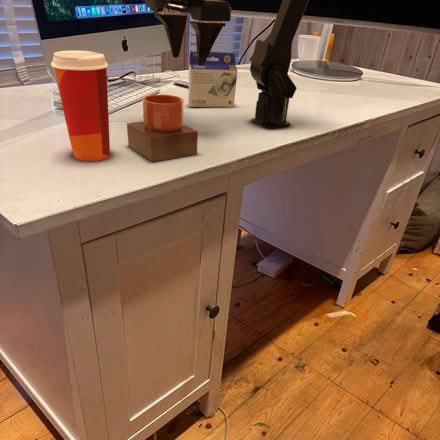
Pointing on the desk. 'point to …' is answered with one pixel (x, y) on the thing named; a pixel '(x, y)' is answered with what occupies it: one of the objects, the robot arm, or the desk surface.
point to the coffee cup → (84, 102)
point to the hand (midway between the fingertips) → (187, 61)
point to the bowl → (163, 112)
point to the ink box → (212, 81)
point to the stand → (162, 142)
